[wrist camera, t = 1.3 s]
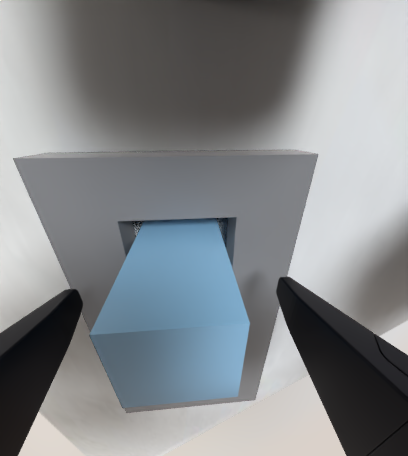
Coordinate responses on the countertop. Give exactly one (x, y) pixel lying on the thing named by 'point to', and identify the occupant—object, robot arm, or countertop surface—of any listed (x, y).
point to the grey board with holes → (175, 209)
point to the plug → (173, 318)
